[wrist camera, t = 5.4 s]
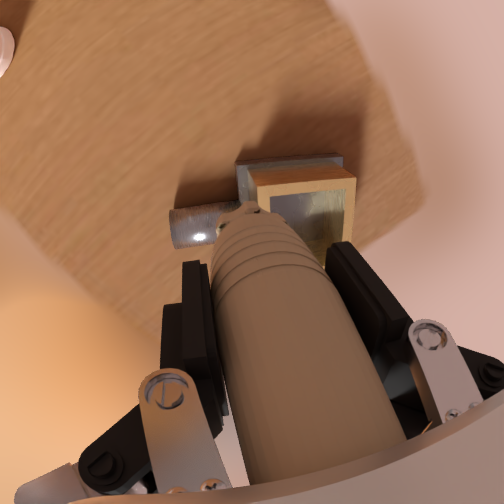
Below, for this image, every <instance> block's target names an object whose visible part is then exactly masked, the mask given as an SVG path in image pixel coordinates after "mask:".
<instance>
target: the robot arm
mask: <svg viewBox="0 0 504 504" xmlns="http://www.w3.org/2000/svg"><path fill="white" fill-rule="evenodd" d="M325 272H326V274H327V275H328V276H329V278H330V279H331V281H332V282H333V284H334V286H335V288H336V289H337V290H338V292H339V294H340V296H341V298H342V300H343V302H344V304H345V306H346V308H347V310H348V312H349V314H350V316H351V318H352V320H353V322H354V324H355V326H356V328H357V331H358V333H359V335H360V337H361V339H362V341H363V343H364V345H365V347H366V349H367V352H368V354H369V356H370V358H371V360H372V362H373V364H374V367H375V369H376V371H377V373H378V375H379V378H380V380H381V382H382V384H383V386H384V389H385V391H386V393H387V395H388V397H389V400H390V402H391V404H392V406H393V409H394V411H395V413H396V415H397V418H398V420H399V422H400V425H401V427H402V429H403V431H404V434H405V436H406V439H407V441H405V442H402V443H400V444H398V445H395V446H393V447H390V448H388V449H385V450H382V451H380V452H377V453H374V454H372V455H369V456H366V457H363V458H360V459H357V460H354V461H351V462H348V463H345V464H342V465H338V466H335V467H332V468H328V469H324V470H321V471H317V472H313V473H309V474H305V475H301V476H297V477H293V478H288V479H283V480H278V481H273V482H268V483H262V484H256V485H250V486H244V487H236V488H233V487H232V485H231V483H230V480H229V478H228V475H227V473H226V470H225V467H224V465H223V462H222V460H221V457H220V454H219V452H218V449H217V446H216V444H215V441H214V439H215V438H216V437H217V436H218V434H219V433H220V432H221V431H222V430H223V428H222V426H223V425H224V424H223V417H222V416H228V415H229V411H228V405H227V398H226V391H225V385H224V378H223V372H222V367H221V363H220V358H219V353H218V347H217V340H216V333H215V326H214V318H213V309H212V308H213V307H212V300H211V290H210V283H209V276H208V270H207V264H200V260H195V261H187V262H183V265H182V303H175V304H167V305H164V307H163V318H162V334H161V354H160V370H157V371H155V372H153V373H151V374H150V375H148V376H147V377H146V378H145V379H144V380H143V381H142V383H141V385H140V388H139V394H138V398H139V404H138V405H137V406H135V407H134V408H133V409H132V410H131V411H130V412H129V413H128V414H126V415H125V416H124V417H123V418H122V419H120V420H119V421H118V422H117V423H116V424H114V425H113V426H112V427H111V428H110V429H109V430H107V431H106V432H105V433H104V434H103V435H101V436H100V437H99V438H98V439H97V440H95V441H94V442H93V443H92V444H91V445H90V446H88V447H87V448H86V449H85V450H84V451H83V453H82V454H81V456H80V458H79V462H77V463H75V464H73V465H72V464H71V463H67V464H65V465H63V466H61V467H59V468H57V469H55V470H53V471H51V472H49V473H47V474H45V475H43V476H40V477H38V478H36V479H34V480H32V481H30V482H28V483H25V484H23V485H22V486H21V487H19V488H18V489H17V491H16V493H15V498H14V503H15V504H504V364H503V363H502V362H501V361H499V360H498V359H495V358H494V357H491V356H487V355H485V354H481V353H479V352H475V351H472V350H469V349H466V348H463V347H460V346H457V345H456V343H455V341H454V339H453V338H452V336H451V334H450V332H449V331H448V330H447V328H446V327H444V326H443V325H442V324H440V323H438V322H436V321H433V320H429V319H421V320H418V321H416V322H413V320H412V319H411V318H410V316H409V315H408V314H407V312H406V311H405V310H404V308H403V307H402V306H401V305H400V303H399V302H398V301H397V299H396V298H395V297H394V295H393V294H392V293H391V292H390V290H389V289H388V288H387V286H386V285H385V284H384V283H383V281H382V280H381V279H380V278H379V277H378V276H377V274H376V273H375V272H374V271H373V269H372V268H371V267H370V266H369V264H368V263H367V262H366V261H365V260H364V258H363V257H362V256H361V255H360V253H359V252H358V251H357V250H356V249H355V248H354V246H353V245H352V244H351V243H350V242H349V241H343V242H335V243H332V245H331V247H329V248H327V250H326V260H325Z"/></svg>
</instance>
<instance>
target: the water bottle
mask: <svg viewBox="0 0 504 504" xmlns="http://www.w3.org/2000/svg"><path fill="white" fill-rule="evenodd" d="M14 47H15V44H14V38H13V37H12V33H11V32H10V31H9V30H8V29H7V28H4V27H0V77H1V76H2V75H3V74H4V73H5V71H6V69H7V68H8V67H9V65H10V63H11V60H12V58H13V52H14Z"/></svg>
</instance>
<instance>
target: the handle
mask: <svg viewBox="0 0 504 504" xmlns="http://www.w3.org/2000/svg"><path fill="white" fill-rule="evenodd" d="M216 233H217V239H216V242H215V244H214V248H213V253H212V258H211V300H212V307H213V308H212V309H213V318H214V326H215V333H216V340H217V347H218V353H219V358H220V363H221V367H222V372H223V376H224V381H225V385H226V389H227V394H228V398H229V402H230V407H231V411H232V415H233V419H234V423H235V427H236V431H237V435H238V439H239V444H240V447H241V451H242V456H243V460H244V463H245V468H246V472H247V475H248V479H249V483H250V485H256V484H262V483H268V482H273V481H278V480H283V479H288V478H293V477H297V476H301V475H305V474H309V473H313V472H317V471H321V470H324V469H328V468H332V467H335V466H338V465H342V464H345V463H348V462H351V461H354V460H357V459H360V458H363V457H366V456H369V455H372V454H374V453H377V452H380V451H382V450H385V449H388V448H390V447H393V446H395V445H398V444H400V443H402V442H405V441H407V439H406V436H405V434H404V431H403V429H402V427H401V425H400V422H399V420H398V418H397V415H396V413H395V411H394V409H393V406H392V404H391V402H390V400H389V397H388V395H387V393H386V391H385V389H384V386H383V384H382V382H381V380H380V378H379V375H378V373H377V371H376V369H375V367H374V364H373V362H372V360H371V358H370V356H369V354H368V352H367V349H366V347H365V345H364V343H363V341H362V339H361V337H360V335H359V333H358V331H357V328H356V326H355V324H354V322H353V320H352V318H351V316H350V314H349V312H348V310H347V308H346V306H345V304H344V302H343V300H342V298H341V296H340V294H339V292H338V290H337V289H336V288H335V286H334V284H333V282H332V281H331V279H330V278H329V276H328V275H327V274H326V272H325V270H324V269H323V267H322V265H321V264H320V263H319V261H318V260H317V258H316V257H315V256H314V254H313V253H312V252H311V250H310V249H309V248H308V247H307V245H306V244H305V243H304V242H303V240H302V239H301V238H300V237H299V236H298V235H297V234H296V232H295V231H294V230H293V229H292V228H291V227H290V225H289V224H288V223H287V222H286V220H285V219H284V218H283V217H282V216H280V215H279V214H278V213H270V212H267V211H265V210H263V209H262V208H261V207H259V205H258V204H257V203H256V202H255V201H245V202H244V203H243V204H242V206H241V207H239V208H238V209H236V210H235V211H233V212H230V213H223V214H221V215H220V217H219V218H218V220H217V222H216Z"/></svg>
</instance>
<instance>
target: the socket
mask: <svg viewBox="0 0 504 504" xmlns="http://www.w3.org/2000/svg"><path fill="white" fill-rule="evenodd" d="M235 171H236V182H237V193H238V200H234V201H227V202H219V203H212V204H205V205H199V206H192V207H185V208H179V209H172V210H170V211H169V222H170V231H171V236H172V241H173V245H174V248H175V249H181V248H188V247H195V246H202V245H208V244H215V242H216V239H217V233H216V222H217V220H218V218H219V217H220V215H221V214H223V213H230V212H233V211H235V210H236V209H238V208H239V207H241V206H242V204H243V203H244V202H245V201H255V202H256V203H257V204H258V205H259V207H261V208H262V209H263V210H265V211H267V212H270V213H278V214H279V215H280V216H282V217H283V218H284V219H285V220H286V222H287V223H288V224H289V225H290V227H291V228H292V229H293V230H294V231H295V232H296V234H297V235H298V236H299V237H300V238H301V239H302V240H303V242H304V243H305V244H306V245H307V247H308V248H309V249H310V250H311V252H312V253H313V254H314V256H315V257H316V258H317V260H318V261H319V263H320V264H321V265H322V267H323V269H324V270H325V260H326V250H327V248H329V247H331V245H332V243H335V242H343V241H349V242H350V243H351V237H352V227H353V217H354V205H355V193H356V177H355V176H354V175H352V174H351V173H349V172H348V171H347V170H345V169H344V168H343V156H341V155H339V154H338V153H332V154H315V155H300V156H288V157H276V158H266V159H256V160H246V161H238V162H235Z"/></svg>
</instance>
